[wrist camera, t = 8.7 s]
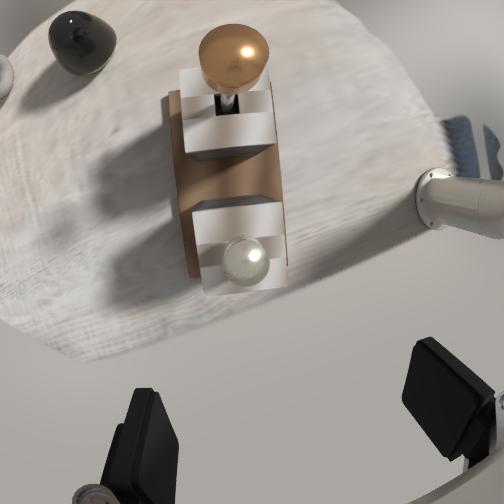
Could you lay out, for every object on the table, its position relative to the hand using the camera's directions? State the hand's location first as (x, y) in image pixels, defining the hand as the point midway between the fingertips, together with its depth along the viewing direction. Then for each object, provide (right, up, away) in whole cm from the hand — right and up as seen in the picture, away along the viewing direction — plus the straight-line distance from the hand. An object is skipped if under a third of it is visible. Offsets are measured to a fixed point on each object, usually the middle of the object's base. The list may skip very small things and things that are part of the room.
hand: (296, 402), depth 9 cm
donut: (-50, +39, +25) cm, 68 cm away
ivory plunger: (-4, +9, +36) cm, 37 cm away
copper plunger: (-5, +22, +24) cm, 33 cm away
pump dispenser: (-29, +39, +28) cm, 56 cm away
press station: (-5, +17, +36) cm, 40 cm away
